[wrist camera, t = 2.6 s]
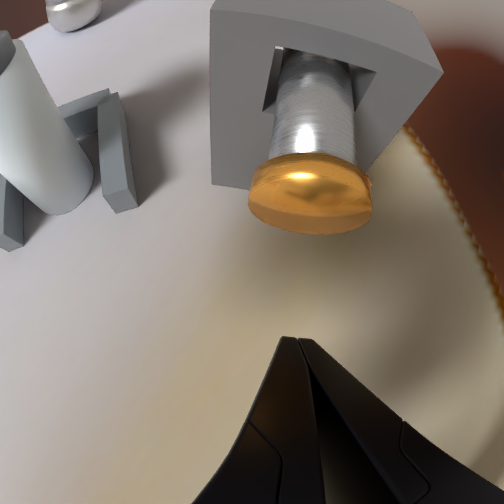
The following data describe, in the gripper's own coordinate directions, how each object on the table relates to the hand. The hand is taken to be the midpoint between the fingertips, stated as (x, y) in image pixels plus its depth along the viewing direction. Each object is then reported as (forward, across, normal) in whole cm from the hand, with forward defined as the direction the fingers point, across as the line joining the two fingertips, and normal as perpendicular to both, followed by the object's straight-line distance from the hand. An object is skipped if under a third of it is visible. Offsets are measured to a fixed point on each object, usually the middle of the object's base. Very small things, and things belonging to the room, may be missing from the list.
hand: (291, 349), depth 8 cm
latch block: (+14, 0, +2) cm, 15 cm away
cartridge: (+12, -14, -1) cm, 19 cm away
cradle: (+12, -14, -1) cm, 19 cm away
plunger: (+7, 0, +5) cm, 8 cm away
